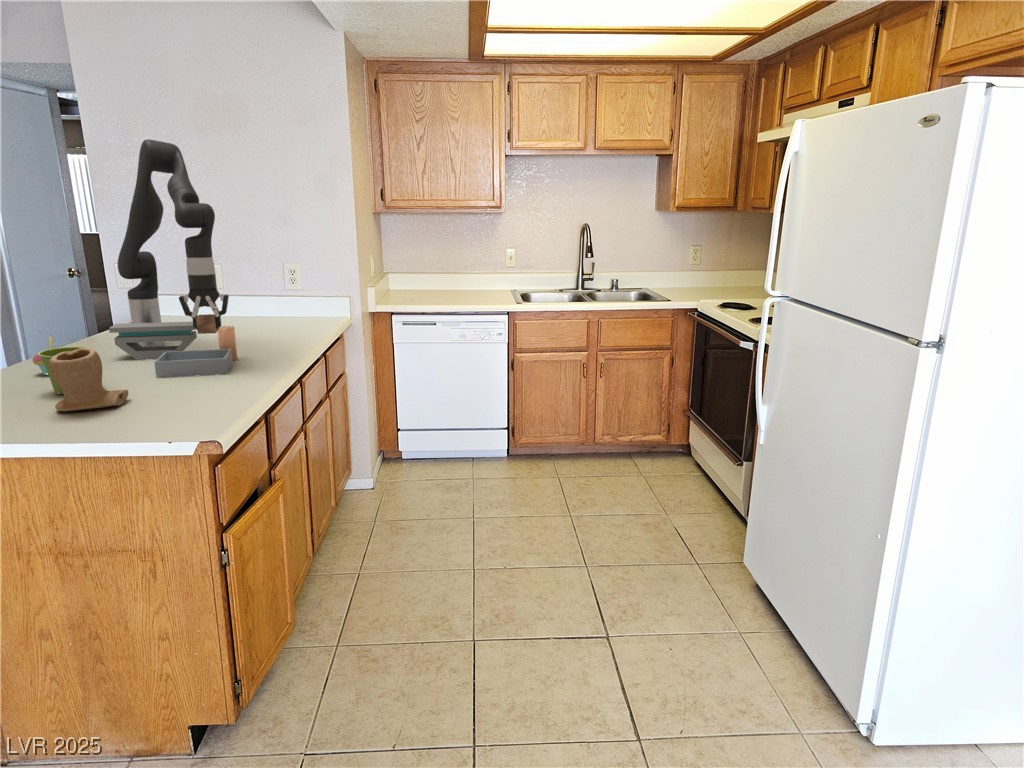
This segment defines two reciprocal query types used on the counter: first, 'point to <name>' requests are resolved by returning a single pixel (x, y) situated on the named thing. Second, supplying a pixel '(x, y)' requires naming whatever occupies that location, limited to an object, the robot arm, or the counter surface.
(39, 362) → the cupcake
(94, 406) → the tan hollow clay piece
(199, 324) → the cube
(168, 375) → the tote
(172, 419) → the counter surface
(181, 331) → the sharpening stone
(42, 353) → the plant pot
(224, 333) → the peach dome-topped cylinder
